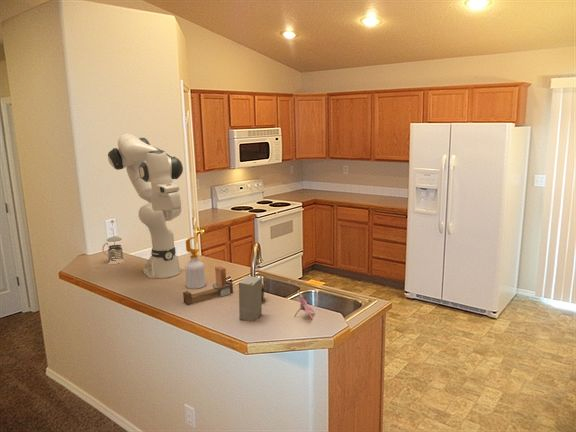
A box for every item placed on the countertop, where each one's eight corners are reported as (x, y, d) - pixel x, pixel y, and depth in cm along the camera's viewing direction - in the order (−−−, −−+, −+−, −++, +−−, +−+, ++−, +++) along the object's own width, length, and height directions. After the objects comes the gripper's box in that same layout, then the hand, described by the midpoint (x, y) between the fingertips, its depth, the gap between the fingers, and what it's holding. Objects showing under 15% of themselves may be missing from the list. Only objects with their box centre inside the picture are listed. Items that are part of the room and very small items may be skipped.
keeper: (213, 293, 212) (211, 267, 210) (222, 290, 215) (221, 265, 213) (220, 296, 207) (219, 270, 205) (230, 294, 210) (228, 268, 208)
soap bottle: (201, 289, 218) (198, 238, 214) (183, 288, 220) (179, 238, 216) (208, 283, 227) (205, 234, 223) (190, 282, 229) (187, 234, 224)
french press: (127, 262, 267) (123, 220, 262) (106, 266, 261) (101, 223, 256) (123, 259, 275) (119, 217, 270) (102, 262, 269) (98, 220, 264)
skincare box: (247, 312, 189) (246, 275, 186) (263, 314, 187) (262, 276, 184) (238, 320, 182) (236, 281, 179) (254, 322, 179) (253, 283, 176)
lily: (302, 328, 175) (314, 306, 174) (279, 311, 180) (290, 290, 179) (315, 326, 186) (326, 305, 185) (292, 309, 191) (303, 290, 190)
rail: (183, 302, 201) (182, 292, 200) (228, 290, 215) (227, 280, 214) (187, 305, 198) (187, 294, 197) (233, 292, 212) (232, 282, 211)
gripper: (145, 190, 200) (151, 221, 202) (167, 188, 185) (173, 222, 187) (158, 188, 204) (164, 219, 206) (181, 186, 189) (186, 219, 191)
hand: (168, 220), depth 196 cm, fingers closed
